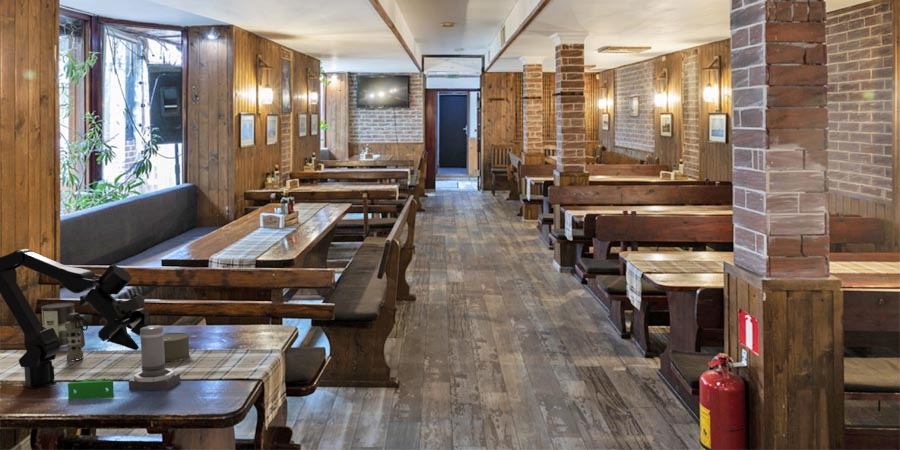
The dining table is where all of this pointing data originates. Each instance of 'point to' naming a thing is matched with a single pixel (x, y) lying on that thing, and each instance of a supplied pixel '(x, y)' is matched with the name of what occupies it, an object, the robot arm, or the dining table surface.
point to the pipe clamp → (90, 389)
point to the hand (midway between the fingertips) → (145, 345)
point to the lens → (152, 351)
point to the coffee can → (57, 319)
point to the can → (176, 346)
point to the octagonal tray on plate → (154, 381)
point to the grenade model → (75, 336)
